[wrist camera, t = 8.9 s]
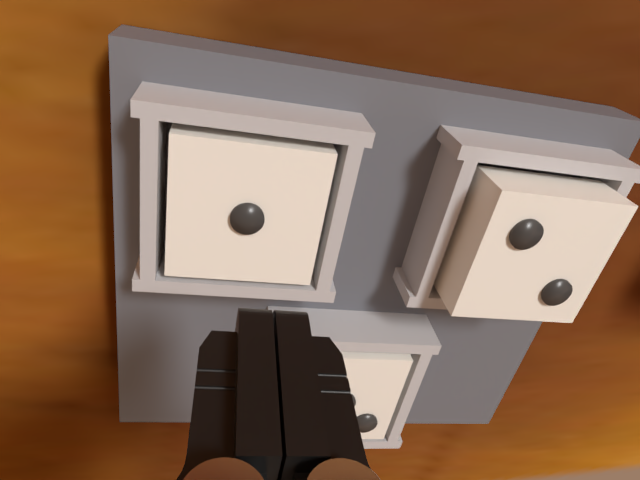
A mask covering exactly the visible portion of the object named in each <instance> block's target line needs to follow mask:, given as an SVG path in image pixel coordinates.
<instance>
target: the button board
mask: <svg viewBox="0 0 640 480" xmlns="http://www.w3.org/2000/svg"><path fill="white" fill-rule="evenodd" d="M108 40H109V74H110V109H111V143H112V177H113V212H114V246H115V280H116V315H117V349H118V383H119V418H120V422H191V414H192V405H193V397H194V389H195V380H196V372H197V363H198V354H199V347H200V346H201V344H202V343H203V342H204V340H205V339H206V337H207V336H208V335H209V333H210V332H211V331H212V330H214V331H231V332H235V327H236V319H237V312H238V308H252V309H266V310H272V312H273V311H274V310H283V311H298V312H307V313H308V316H309V322H310V328H311V334H312V336H320V337H330V339H331V340H332V341H333V343H334V344H335V345H336V347H337V348H338V349H339V351H346V352H374V353H401V354H411V357H412V359H413V363H412V365H411V368H410V371H409V373H408V376H407V378H406V381H405V384H404V386H403V389H402V392H401V394H400V397H399V400H398V402H397V405H396V408H395V410H394V413H393V415H392V418H391V421H390V423H389V426H388V429H387V431H386V434H385V437H384V439H362V442H363V446H364V449H370V448H400V446H401V444H402V439H401V436H400V434H401V432H402V429H403V427H404V424H405V423H458V424H488V423H489V422H490V420H491V418H492V416H493V414H494V412H495V410H496V408H497V406H498V405H499V403H500V401H501V399H502V397H503V395H504V393H505V391H506V389H507V388H508V386H509V384H510V382H511V380H512V378H513V376H514V374H515V372H516V370H517V369H518V367H519V365H520V363H521V361H522V359H523V357H524V355H525V353H526V352H527V350H528V348H529V346H530V344H531V342H532V340H533V338H534V336H535V335H536V333H537V331H538V329H539V327H540V325H541V323H542V321H528V320H510V319H492V318H474V317H456V316H451V315H450V313H449V311H448V310H447V308H446V306H445V304H444V302H443V301H442V299H441V297H440V295H439V294H438V292H437V290H436V288H435V286H434V285H433V284H434V281H435V278H436V276H437V273H438V270H439V268H440V265H441V262H442V259H443V257H444V254H445V251H446V248H447V246H448V243H449V240H450V238H451V235H452V232H453V229H454V227H455V224H456V221H457V219H458V216H459V213H460V210H461V208H462V205H463V202H464V200H465V197H466V194H467V191H468V189H469V186H470V183H471V181H472V178H473V175H474V172H475V170H476V167H477V165H482V166H490V167H497V168H505V169H513V170H521V171H528V172H536V173H544V174H552V175H559V176H567V177H575V178H583V179H591V180H598V181H602V182H603V183H605V184H606V185H608V186H609V187H611V188H612V189H614V190H615V191H616V192H618V193H619V194H621V195H622V196H624V197H625V198H626V197H627V195H628V194H629V192H630V190H631V188H632V186H633V184H634V183H640V166H639V165H637V164H635V163H634V162H632V161H630V160H628V159H629V157H630V155H631V153H632V151H633V149H634V147H635V146H636V144H637V142H638V140H639V138H640V119H639V118H637V117H634V116H632V115H630V114H628V113H626V112H623V111H621V110H619V109H617V108H615V107H611V106H605V105H599V104H593V103H587V102H581V101H575V100H569V99H563V98H557V97H551V96H545V95H539V94H533V93H527V92H521V91H515V90H510V89H504V88H498V87H492V86H486V85H480V84H474V83H468V82H462V81H456V80H450V79H444V78H438V77H432V76H426V75H420V74H414V73H408V72H402V71H396V70H390V69H384V68H378V67H372V66H366V65H360V64H354V63H348V62H342V61H337V60H331V59H325V58H319V57H313V56H307V55H301V54H295V53H289V52H283V51H277V50H271V49H265V48H259V47H253V46H247V45H241V44H235V43H229V42H223V41H217V40H211V39H205V38H199V37H193V36H187V35H181V34H175V33H169V32H164V31H158V30H152V29H146V28H140V27H134V26H128V25H121V26H119V27H118V28H117V29H115V30H114V31H113V32H112V33H110V34H109V35H108ZM172 123H179V124H187V125H195V126H202V127H210V128H218V129H225V130H233V131H241V132H248V133H256V134H264V135H271V136H279V137H287V138H295V139H302V140H310V141H318V142H325V143H333V145H334V147H335V150H336V152H337V154H338V156H337V161H336V165H335V170H334V175H333V179H332V184H331V189H330V193H329V198H328V203H327V207H326V212H325V217H324V221H323V226H322V231H321V235H320V240H319V245H318V249H317V254H316V259H315V263H314V268H313V273H312V277H311V282H310V285H299V284H284V283H268V282H253V281H238V280H223V279H207V278H192V277H177V276H164V273H165V241H166V209H167V177H168V146H169V132H170V129H171V126H172Z"/></svg>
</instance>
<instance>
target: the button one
mask: <svg viewBox="0 0 640 480" xmlns="http://www.w3.org/2000/svg"><path fill="white" fill-rule="evenodd" d="M337 156H338V154H337V152H336V150H335V147H334V145H333V143H325V142H318V141H310V140H302V139H295V138H287V137H279V136H271V135H264V134H256V133H248V132H241V131H233V130H225V129H218V128H210V127H202V126H195V125H187V124H179V123H172V126H171V129H170V132H169V146H168V177H167V209H166V241H165V273H164V276H177V277H192V278H207V279H223V280H238V281H253V282H268V283H284V284H299V285H310V282H311V277H312V273H313V268H314V263H315V259H316V254H317V249H318V245H319V240H320V235H321V231H322V226H323V221H324V217H325V212H326V207H327V203H328V198H329V193H330V189H331V184H332V179H333V175H334V170H335V165H336V161H337Z"/></svg>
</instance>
